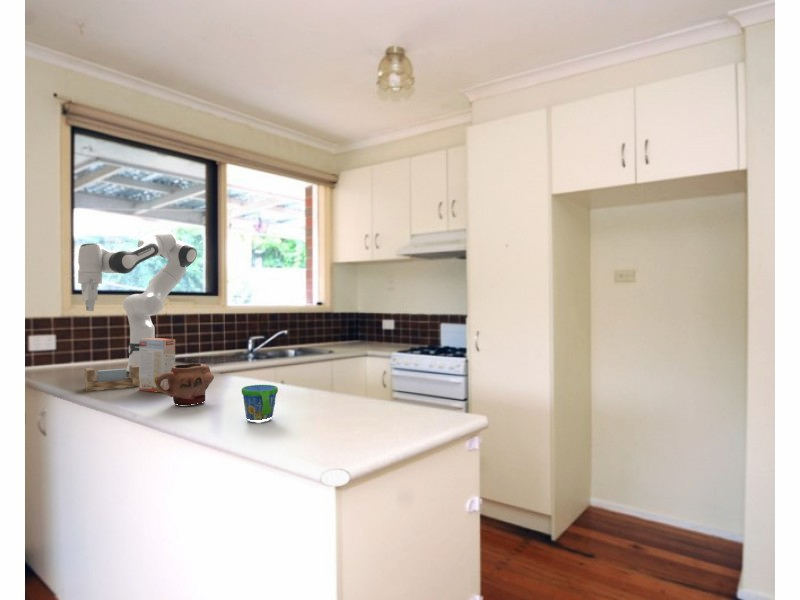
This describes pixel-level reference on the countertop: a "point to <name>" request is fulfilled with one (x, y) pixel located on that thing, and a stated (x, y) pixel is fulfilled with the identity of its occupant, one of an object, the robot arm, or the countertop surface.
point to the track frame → (96, 385)
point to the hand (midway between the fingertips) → (89, 310)
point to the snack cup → (259, 401)
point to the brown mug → (187, 383)
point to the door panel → (111, 375)
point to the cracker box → (155, 362)
